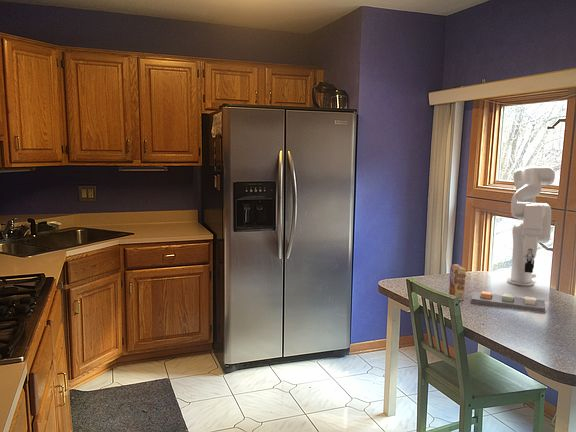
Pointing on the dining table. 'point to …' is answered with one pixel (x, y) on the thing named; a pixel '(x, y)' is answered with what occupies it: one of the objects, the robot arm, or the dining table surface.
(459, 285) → the candy box
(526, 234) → the robot arm
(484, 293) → the orange button
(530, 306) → the button panel
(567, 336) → the dining table surface
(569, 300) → the dining table surface
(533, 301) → the cream button
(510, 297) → the sage button
